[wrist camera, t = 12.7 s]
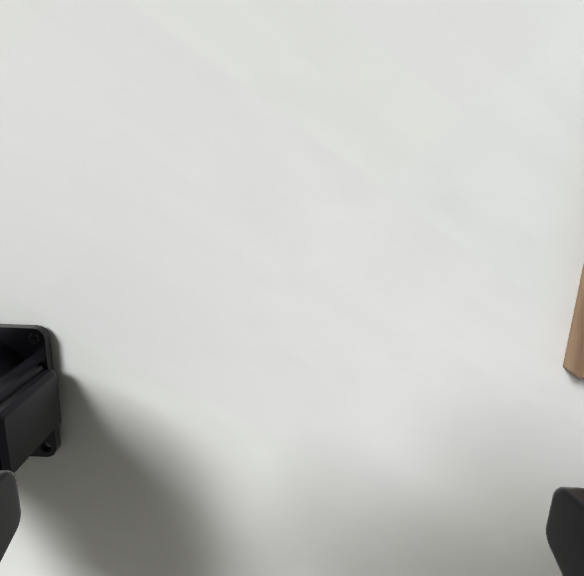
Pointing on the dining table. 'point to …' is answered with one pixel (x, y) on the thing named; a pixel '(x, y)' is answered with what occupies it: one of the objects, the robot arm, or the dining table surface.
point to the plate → (576, 336)
